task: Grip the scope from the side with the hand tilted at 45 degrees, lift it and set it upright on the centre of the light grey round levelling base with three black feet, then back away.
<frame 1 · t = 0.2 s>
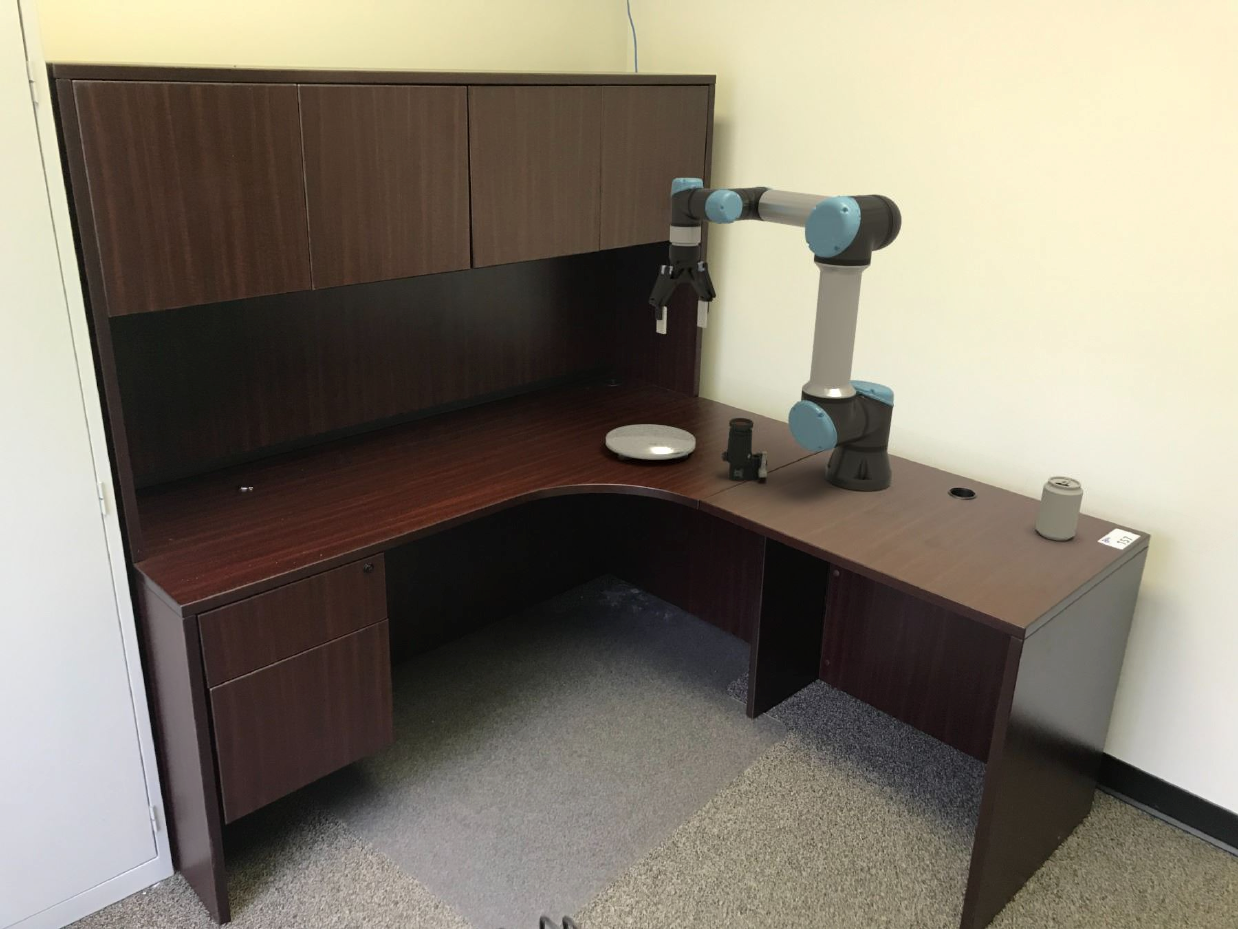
hand: (681, 329, 253), 28 cm above the table, fingers open, 13 cm apart
can: (1054, 535, 209), on the table
scope: (741, 479, 235), on the table
levelling base: (650, 451, 250), on the table
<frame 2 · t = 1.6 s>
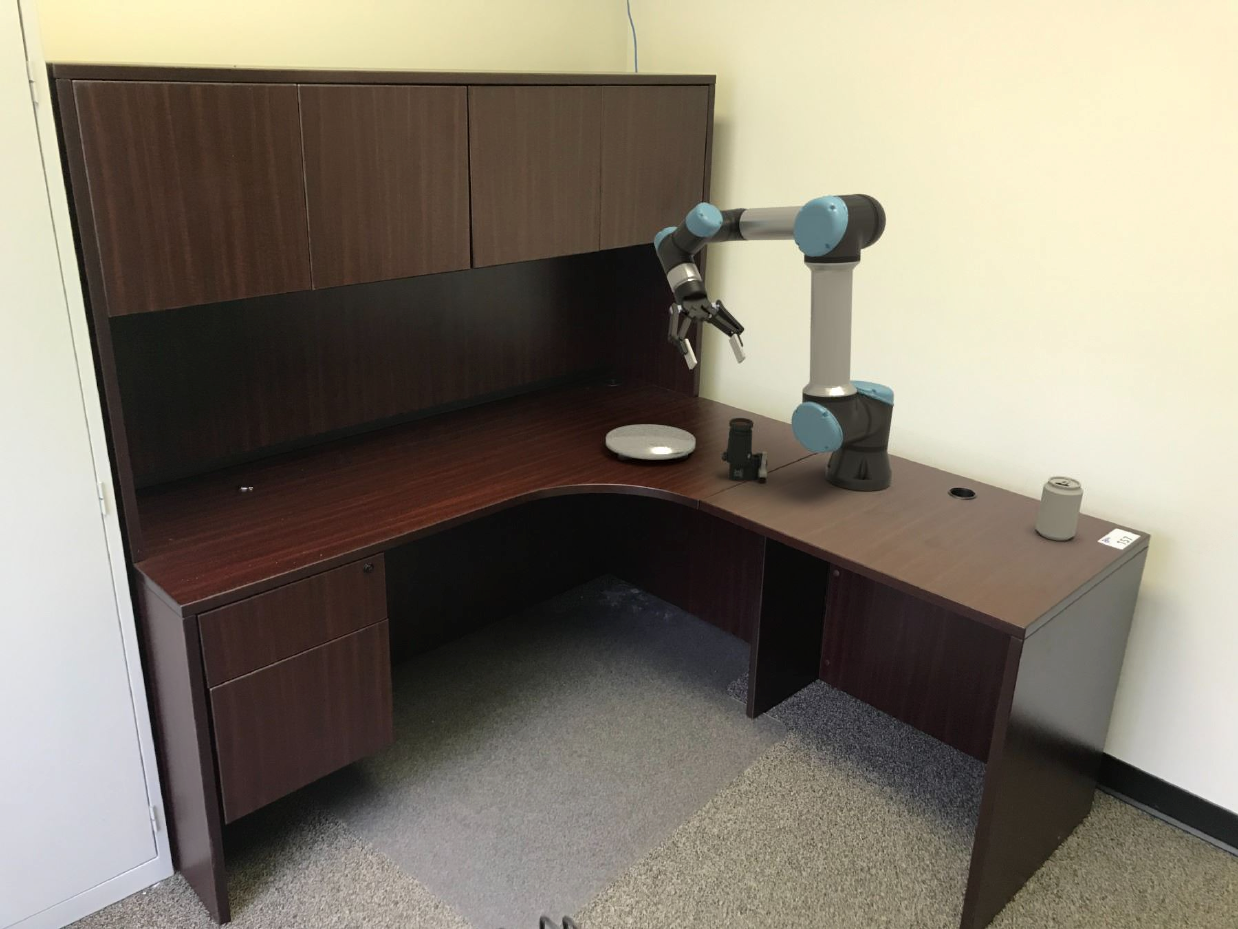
hand: (718, 363, 236), 25 cm above the table, fingers open, 13 cm apart
nothing on the table moved.
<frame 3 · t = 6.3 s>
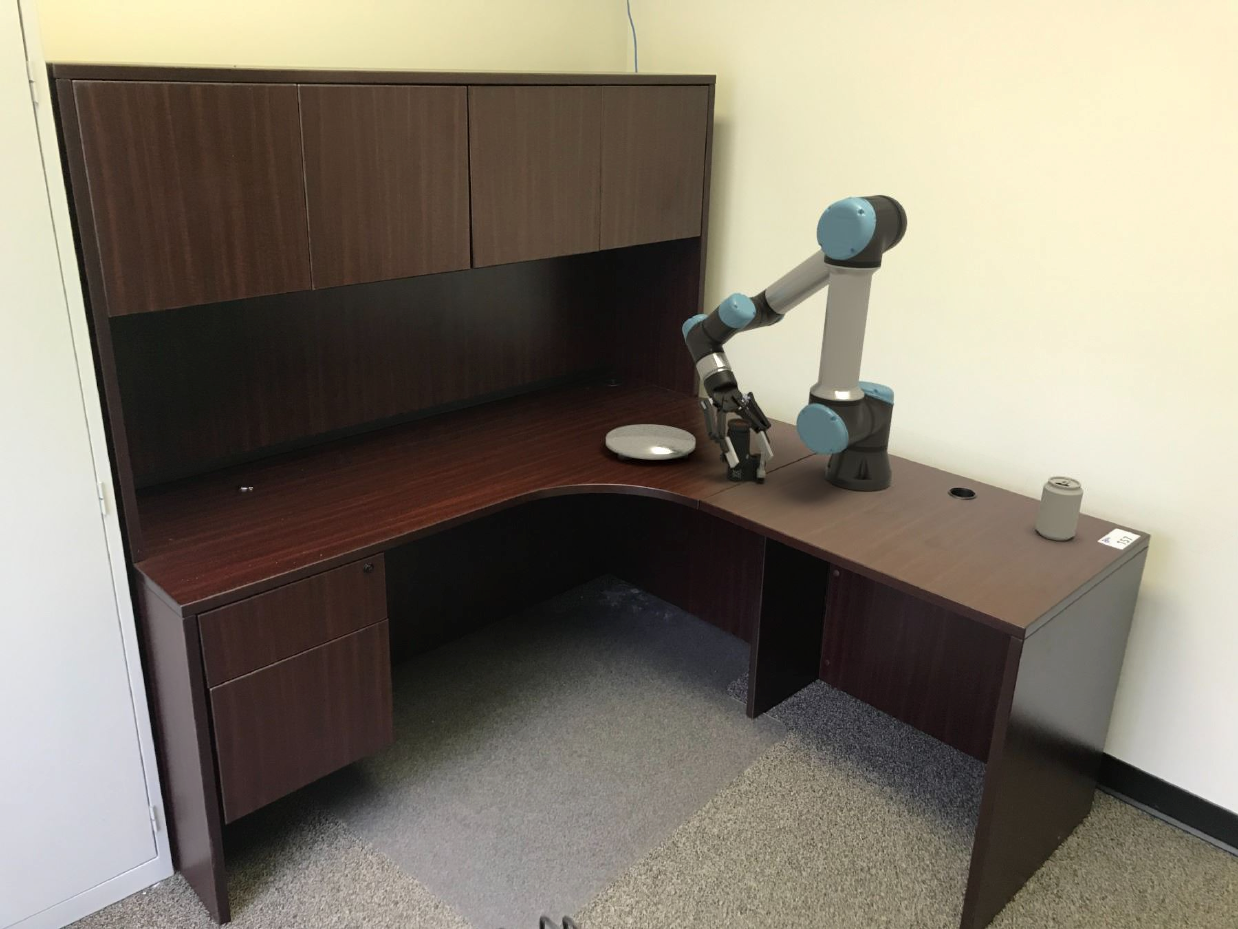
hand: (752, 461, 230), 5 cm above the table, fingers closed on scope, 9 cm apart
scope: (740, 479, 234), on the table, touching gripper
everything else where it was.
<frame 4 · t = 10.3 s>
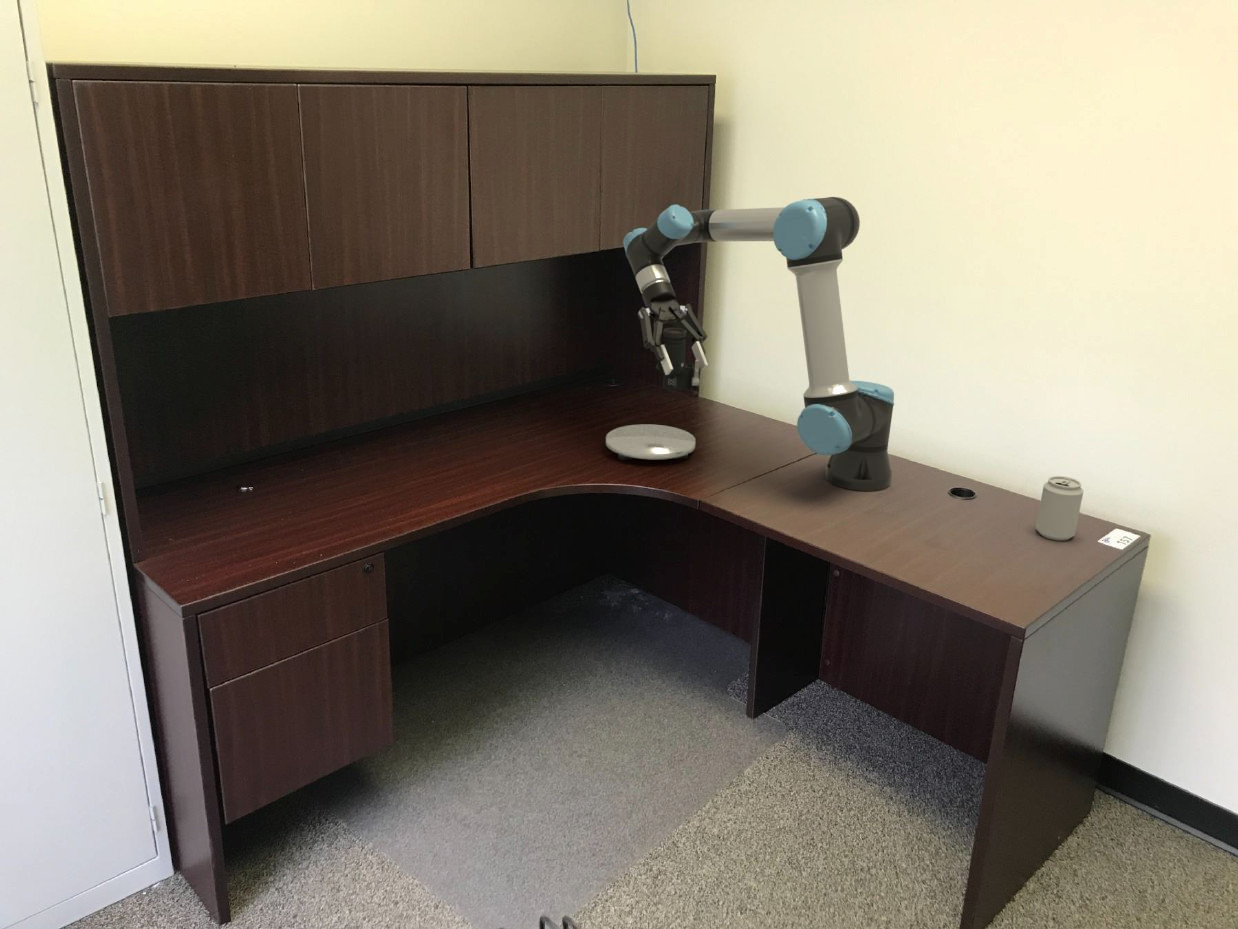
hand: (687, 369, 235), 23 cm above the table, fingers closed on scope, 9 cm apart
scope: (675, 388, 239), point 18 cm above the table, touching gripper
everything else where it was.
when the fingers open (10 cm above the table, at t = 14.5 s): scope drops 1 cm, resting on levelling base.
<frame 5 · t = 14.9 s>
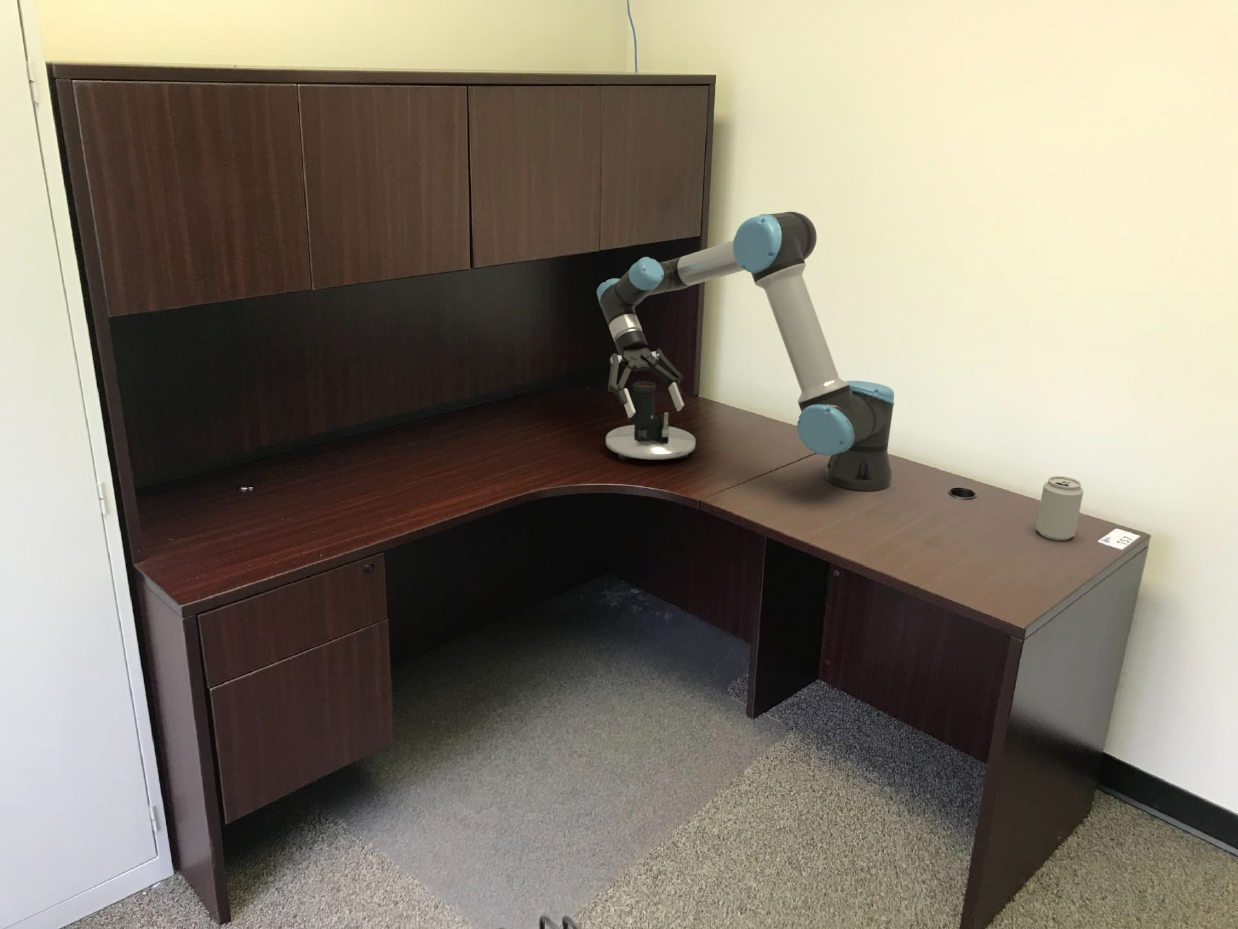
hand: (656, 411, 244), 11 cm above the table, fingers open, 13 cm apart
scope: (646, 439, 248), point 3 cm above the table, touching levelling base
everything else where it was.
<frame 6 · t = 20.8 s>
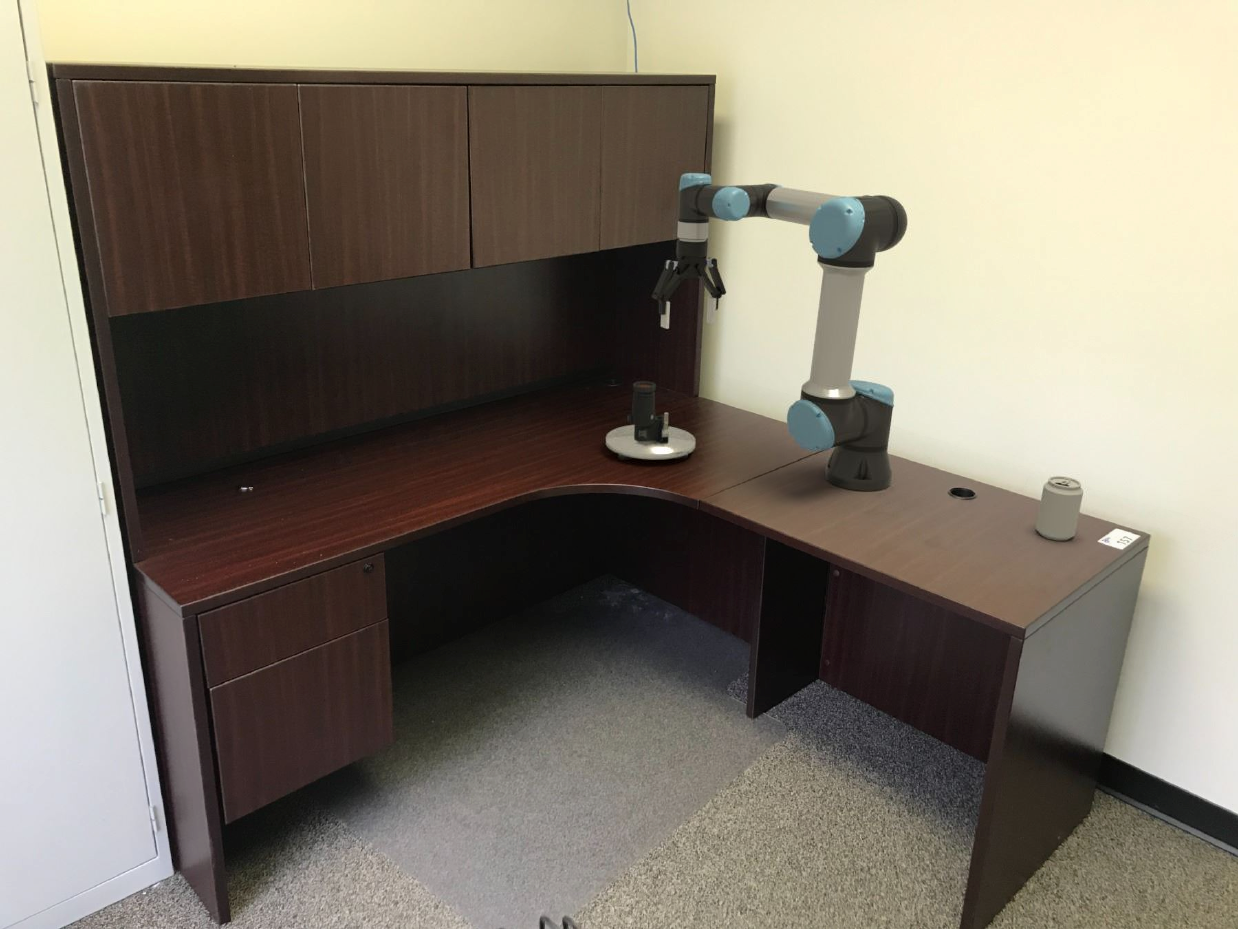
hand: (687, 325, 254), 29 cm above the table, fingers open, 13 cm apart
nothing on the table moved.
at the end: scope inside the target area on the levelling base (1.1 cm from its centre), point 3.3 cm above the levelling base's base; scope tilted 1°; the gripper is holding nothing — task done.
